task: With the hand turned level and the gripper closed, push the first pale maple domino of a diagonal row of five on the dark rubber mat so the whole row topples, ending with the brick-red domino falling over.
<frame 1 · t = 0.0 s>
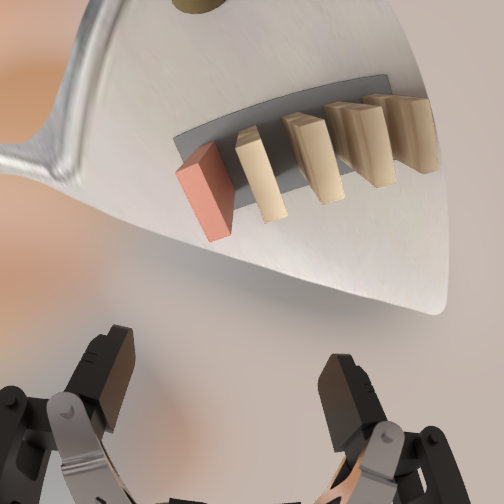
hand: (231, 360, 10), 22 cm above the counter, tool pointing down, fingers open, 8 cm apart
domino 2: (338, 129, 26), resting on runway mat
domino 3: (298, 141, 26), resting on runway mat
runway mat: (298, 140, 27), on the counter
domino 4: (257, 154, 27), resting on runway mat
domino 1: (375, 121, 25), resting on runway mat
domino 5: (217, 169, 28), resting on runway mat
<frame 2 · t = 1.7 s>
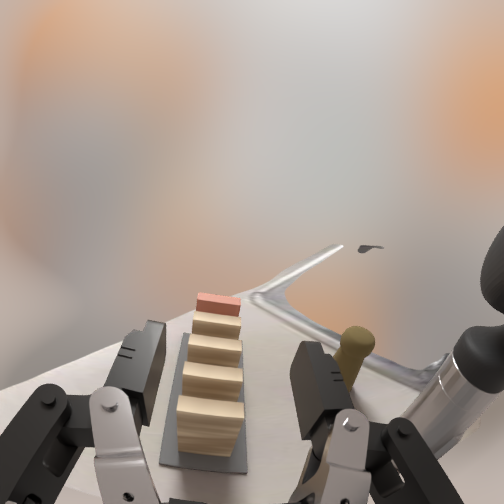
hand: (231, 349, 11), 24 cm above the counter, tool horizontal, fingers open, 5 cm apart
domino 2: (206, 419, 30), resting on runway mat
domino 3: (208, 392, 34), resting on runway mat
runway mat: (207, 394, 34), on the counter
cork: (334, 383, 39), on the counter
domino 4: (209, 369, 38), resting on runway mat
domino 1: (204, 448, 25), resting on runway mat
domino 5: (211, 349, 42), resting on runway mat
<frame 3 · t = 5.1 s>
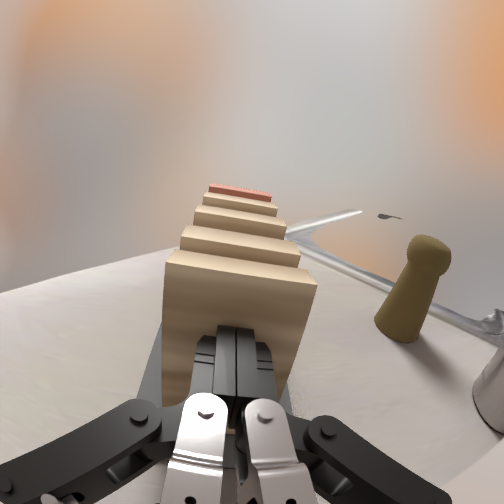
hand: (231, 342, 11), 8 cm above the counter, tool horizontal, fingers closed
domino 2: (217, 370, 18), resting on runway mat
domino 3: (220, 330, 22), resting on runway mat
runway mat: (219, 334, 22), on the counter
cork: (395, 327, 28), on the counter
domino 4: (222, 300, 26), resting on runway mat
domino 1: (214, 421, 14), point 1 cm above the counter, tilted 8°, touching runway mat
domino 5: (224, 278, 30), resting on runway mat
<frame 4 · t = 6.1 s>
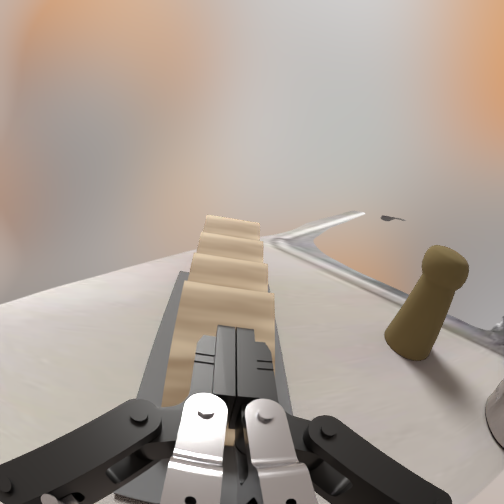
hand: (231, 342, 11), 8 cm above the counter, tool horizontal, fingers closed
domino 2: (217, 384, 16), point 1 cm above the counter, tilted 66°, touching domino 1, domino 3, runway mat
domino 3: (220, 338, 20), point 1 cm above the counter, tilted 66°, touching domino 2, domino 4, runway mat
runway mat: (217, 359, 20), on the counter
cork: (406, 343, 25), on the counter
domino 4: (223, 299, 25), point 1 cm above the counter, tilted 66°, touching domino 3, domino 5
domino 1: (215, 444, 12), point 1 cm above the counter, tilted 66°, touching domino 2
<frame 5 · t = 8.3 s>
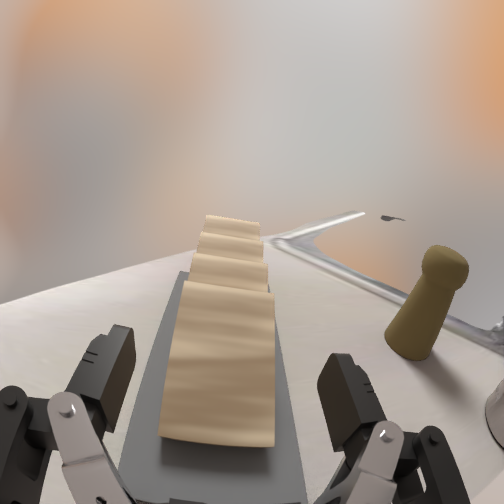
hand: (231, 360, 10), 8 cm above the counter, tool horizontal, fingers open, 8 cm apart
domino 2: (217, 384, 16), point 1 cm above the counter, tilted 66°, touching domino 1, domino 3, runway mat
domino 3: (220, 338, 20), point 1 cm above the counter, tilted 66°, touching domino 2, domino 4, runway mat
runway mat: (217, 359, 20), on the counter
cork: (406, 343, 25), on the counter
domino 4: (223, 299, 25), point 1 cm above the counter, tilted 66°, touching domino 3, domino 5
domino 1: (215, 444, 12), point 1 cm above the counter, tilted 66°, touching domino 2
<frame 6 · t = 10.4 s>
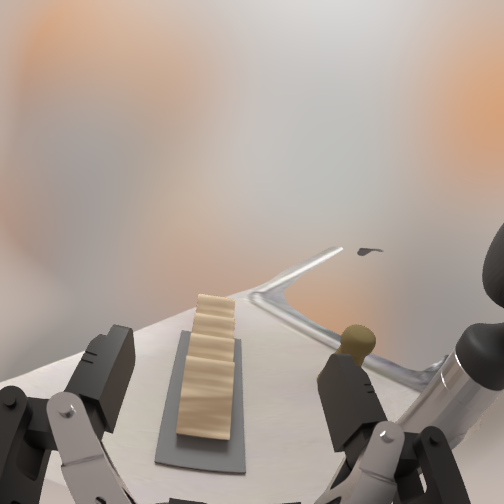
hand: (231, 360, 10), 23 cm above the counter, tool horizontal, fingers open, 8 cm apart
domino 2: (204, 407, 30), point 1 cm above the counter, tilted 66°, touching domino 1, domino 3, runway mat
domino 3: (207, 380, 34), point 1 cm above the counter, tilted 66°, touching domino 2, domino 4, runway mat
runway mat: (205, 392, 33), on the counter
cork: (333, 383, 39), on the counter
domino 4: (209, 355, 38), point 1 cm above the counter, tilted 66°, touching domino 3, domino 5
domino 1: (202, 437, 25), point 1 cm above the counter, tilted 66°, touching domino 2
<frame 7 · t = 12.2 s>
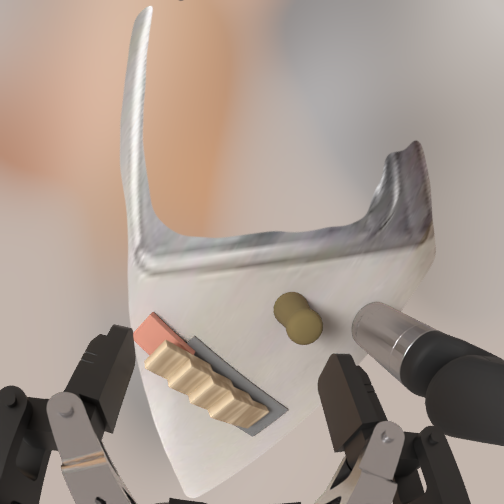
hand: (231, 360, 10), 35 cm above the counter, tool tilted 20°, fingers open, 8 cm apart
domino 2: (239, 405, 46), point 1 cm above the counter, tilted 66°, touching domino 1, domino 3, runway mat
domino 3: (221, 392, 45), point 1 cm above the counter, tilted 66°, touching domino 2, domino 4, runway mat
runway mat: (225, 392, 47), on the counter
cork: (290, 308, 46), on the counter
domino 4: (200, 377, 45), point 1 cm above the counter, tilted 66°, touching domino 3, domino 5
domino 1: (256, 417, 46), point 1 cm above the counter, tilted 66°, touching domino 2
domino 5: (183, 363, 44), point 1 cm above the counter, tilted 92°, touching domino 4, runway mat
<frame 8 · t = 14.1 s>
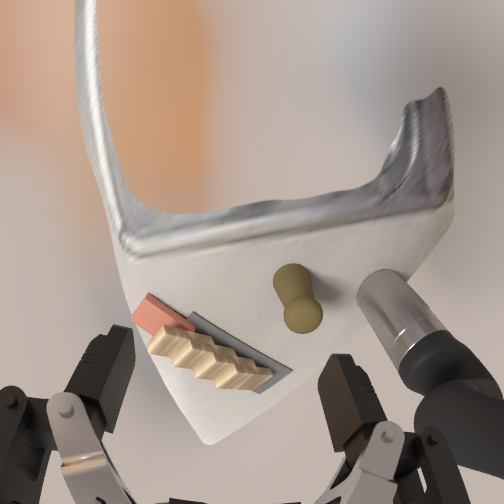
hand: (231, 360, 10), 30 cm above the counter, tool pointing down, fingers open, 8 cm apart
domino 2: (244, 370, 50), point 1 cm above the counter, tilted 66°, touching domino 1, domino 3, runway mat
domino 3: (225, 360, 49), point 1 cm above the counter, tilted 66°, touching domino 2, domino 4, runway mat
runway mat: (230, 358, 50), on the counter
cork: (291, 279, 44), on the counter
domino 4: (203, 349, 47), point 1 cm above the counter, tilted 66°, touching domino 3, domino 5
domino 1: (261, 379, 51), point 1 cm above the counter, tilted 66°, touching domino 2
domino 5: (185, 338, 46), point 1 cm above the counter, tilted 92°, touching domino 4, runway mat
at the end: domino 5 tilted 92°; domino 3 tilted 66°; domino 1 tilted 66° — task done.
